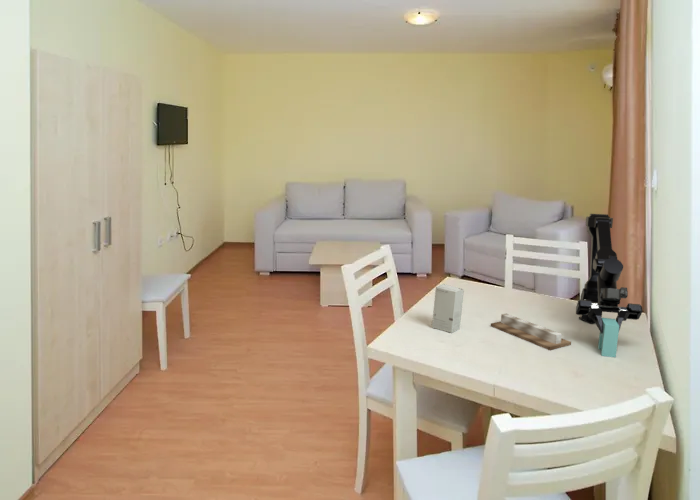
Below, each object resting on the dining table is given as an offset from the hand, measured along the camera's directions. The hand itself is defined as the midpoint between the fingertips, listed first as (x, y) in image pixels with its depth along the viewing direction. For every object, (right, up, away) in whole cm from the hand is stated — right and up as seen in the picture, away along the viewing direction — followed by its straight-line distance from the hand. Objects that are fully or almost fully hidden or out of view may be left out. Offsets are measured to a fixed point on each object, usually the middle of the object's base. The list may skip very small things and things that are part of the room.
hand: (609, 333), depth 183 cm
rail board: (-20, -3, +17) cm, 26 cm away
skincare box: (-47, -2, +22) cm, 52 cm away
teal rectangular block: (0, -6, +3) cm, 7 cm away
